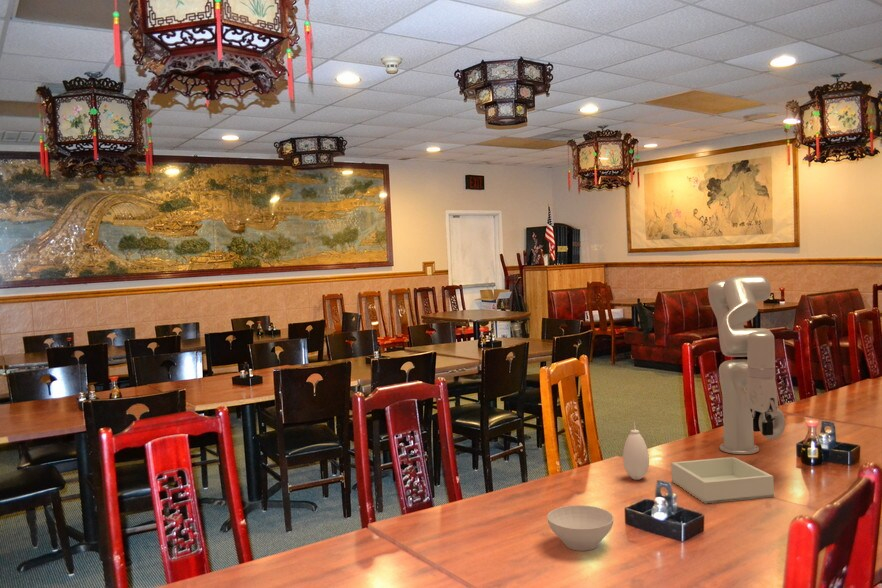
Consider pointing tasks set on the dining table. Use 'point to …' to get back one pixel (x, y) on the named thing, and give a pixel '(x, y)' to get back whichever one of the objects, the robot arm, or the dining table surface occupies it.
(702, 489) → the bin
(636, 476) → the sauce bottle
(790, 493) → the dining table surface
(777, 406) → the robot arm
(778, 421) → the donut
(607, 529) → the bowl
